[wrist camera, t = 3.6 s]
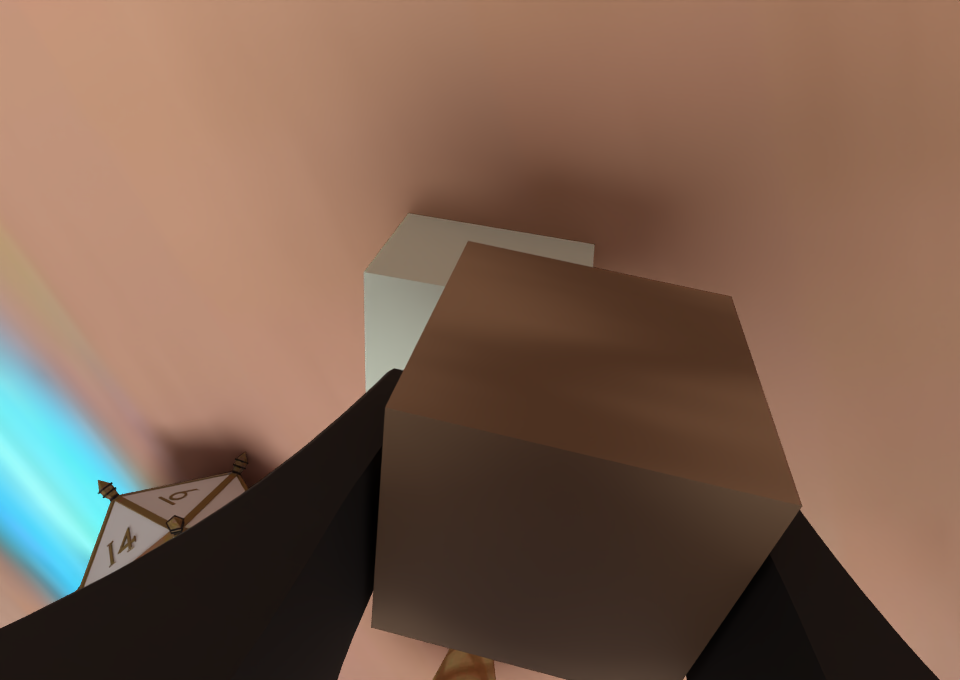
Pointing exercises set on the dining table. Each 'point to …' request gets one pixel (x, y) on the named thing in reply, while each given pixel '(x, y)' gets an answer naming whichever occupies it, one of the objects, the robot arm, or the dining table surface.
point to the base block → (431, 280)
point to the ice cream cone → (465, 667)
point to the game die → (156, 517)
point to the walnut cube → (575, 471)
